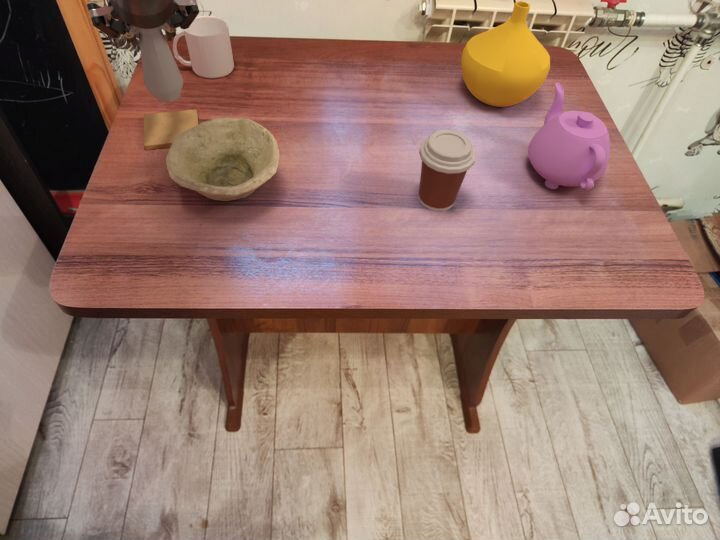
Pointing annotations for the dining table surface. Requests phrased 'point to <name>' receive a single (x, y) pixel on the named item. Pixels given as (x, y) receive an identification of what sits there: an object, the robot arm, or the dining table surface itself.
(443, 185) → the coffee cup
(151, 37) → the salt shaker
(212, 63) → the mug
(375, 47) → the dining table surface
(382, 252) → the dining table surface
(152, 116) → the wooden square board
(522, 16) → the vase
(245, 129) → the bowl
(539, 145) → the teapot
